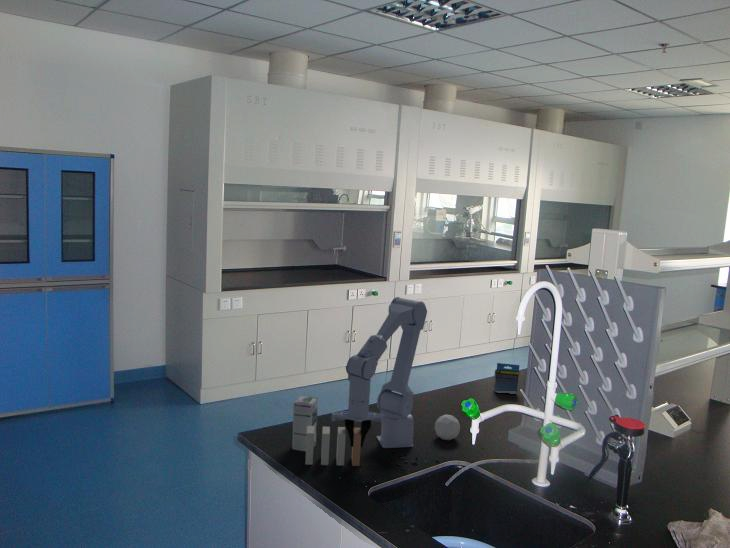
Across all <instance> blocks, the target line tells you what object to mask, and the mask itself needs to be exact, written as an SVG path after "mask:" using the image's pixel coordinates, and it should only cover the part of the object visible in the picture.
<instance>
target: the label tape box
mask: <svg viewBox="0 0 730 548" xmlns="http://www.w3.org/2000/svg"><path fill="white" fill-rule="evenodd" d="M505 367H506V368H505ZM507 367H508V368H507ZM519 377H520V364H512V363H502V362H497V363H496V369H495V370H494V376H493V387H492V390H493V389H494V391H516V392H517V393H518V386H519ZM494 391H493V392H494Z"/></svg>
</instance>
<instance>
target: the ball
mask: <svg viewBox="0 0 730 548" xmlns="http://www.w3.org/2000/svg"><path fill="white" fill-rule="evenodd" d="M434 430H435V433H436V435H437V437H439V438H441V440H445V441H451V440H453V439H456V437H457V436H458V435H459V434H460V430H461V425H460V423H459V420H458V419H457V418H456V417H455V416H453V414H452V415H450V414H446V413H445V414H444V415H441V416H439V417H438V418H437V420H436V421H435V423H434Z"/></svg>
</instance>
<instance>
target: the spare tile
mask: <svg viewBox="0 0 730 548" xmlns="http://www.w3.org/2000/svg"><path fill="white" fill-rule="evenodd" d="M361 448H362V447H361V427H354V433H353V447H351V466H352V467H360V463H361V460H360V459H361Z"/></svg>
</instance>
